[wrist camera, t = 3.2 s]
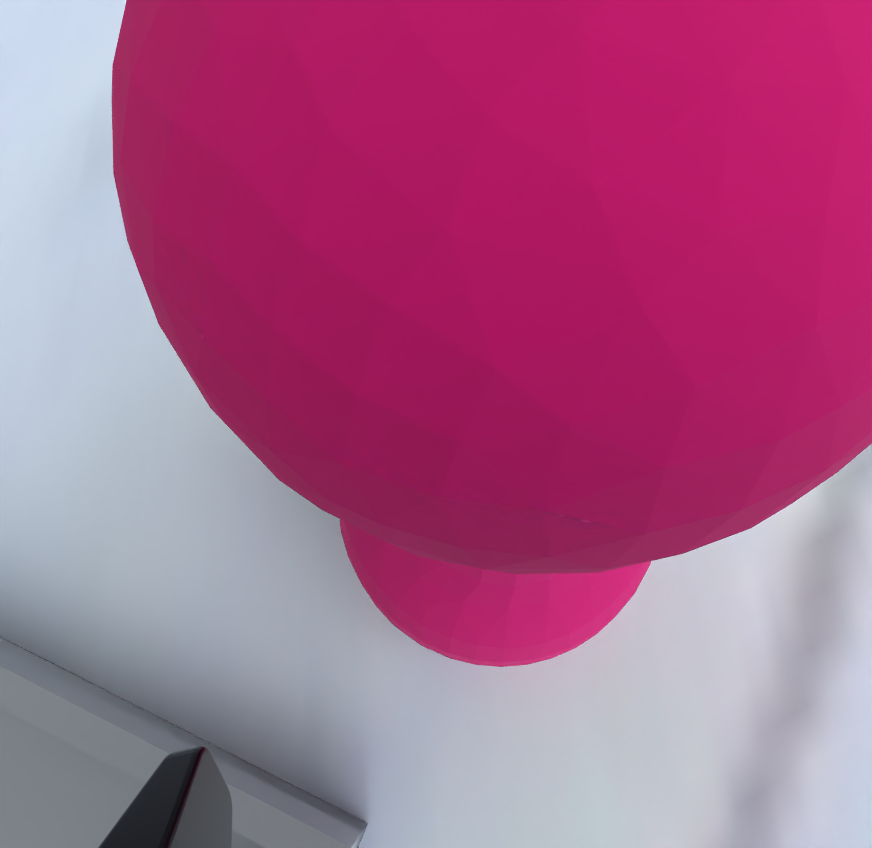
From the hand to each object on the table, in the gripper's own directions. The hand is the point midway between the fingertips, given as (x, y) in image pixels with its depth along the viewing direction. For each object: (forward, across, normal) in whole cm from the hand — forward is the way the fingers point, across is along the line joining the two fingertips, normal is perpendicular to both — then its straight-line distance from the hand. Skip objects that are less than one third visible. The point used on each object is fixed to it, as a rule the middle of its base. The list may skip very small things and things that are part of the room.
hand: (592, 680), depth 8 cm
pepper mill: (+11, 0, +6) cm, 12 cm away
